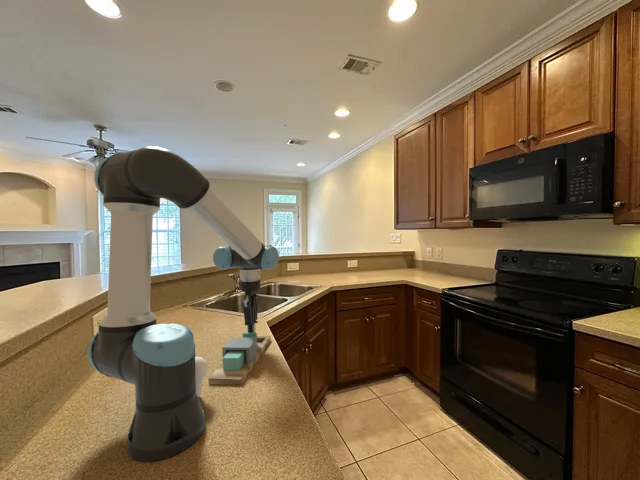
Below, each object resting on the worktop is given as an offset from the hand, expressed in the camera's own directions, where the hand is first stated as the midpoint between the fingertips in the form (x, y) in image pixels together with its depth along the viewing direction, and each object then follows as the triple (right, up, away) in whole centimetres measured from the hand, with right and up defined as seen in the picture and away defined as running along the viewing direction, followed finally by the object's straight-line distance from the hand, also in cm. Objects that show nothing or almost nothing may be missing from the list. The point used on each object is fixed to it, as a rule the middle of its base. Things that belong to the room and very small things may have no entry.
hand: (251, 340), depth 109 cm
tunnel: (-1, -2, -12) cm, 13 cm away
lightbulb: (-7, -4, -32) cm, 33 cm away
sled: (-1, -2, -11) cm, 12 cm away
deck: (-1, -3, -9) cm, 9 cm away
